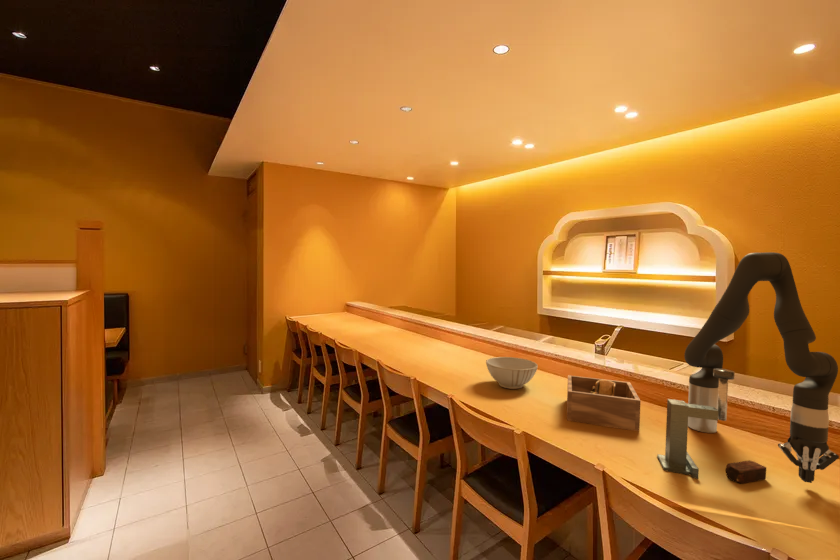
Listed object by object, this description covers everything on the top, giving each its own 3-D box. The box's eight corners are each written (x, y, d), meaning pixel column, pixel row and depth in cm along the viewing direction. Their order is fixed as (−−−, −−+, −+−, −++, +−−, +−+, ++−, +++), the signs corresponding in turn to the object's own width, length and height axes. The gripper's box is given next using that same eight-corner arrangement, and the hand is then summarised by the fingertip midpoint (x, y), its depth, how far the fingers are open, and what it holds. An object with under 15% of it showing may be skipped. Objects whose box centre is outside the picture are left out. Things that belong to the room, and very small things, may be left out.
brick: (766, 480, 111) (749, 471, 116) (767, 467, 111) (750, 459, 116) (739, 484, 109) (723, 475, 113) (740, 471, 108) (723, 463, 113)
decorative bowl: (529, 397, 181) (529, 372, 181) (477, 387, 195) (478, 364, 195) (542, 383, 204) (543, 361, 203) (495, 375, 218) (496, 354, 217)
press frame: (656, 454, 126) (658, 394, 125) (706, 463, 121) (709, 400, 120) (665, 472, 115) (667, 406, 114) (720, 483, 110) (723, 414, 109)
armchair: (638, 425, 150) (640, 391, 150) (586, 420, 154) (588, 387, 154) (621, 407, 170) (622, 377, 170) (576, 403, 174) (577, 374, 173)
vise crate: (567, 400, 178) (567, 375, 178) (628, 408, 168) (629, 382, 168) (567, 420, 154) (568, 391, 153) (639, 431, 144) (640, 400, 144)
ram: (708, 415, 117) (711, 367, 117) (728, 417, 116) (730, 369, 115) (714, 421, 113) (717, 371, 112) (735, 423, 111) (737, 373, 110)
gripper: (831, 420, 108) (828, 479, 108) (772, 413, 113) (770, 469, 113) (849, 430, 101) (846, 493, 101) (786, 422, 106) (783, 482, 106)
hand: (805, 480), depth 107 cm, fingers closed
